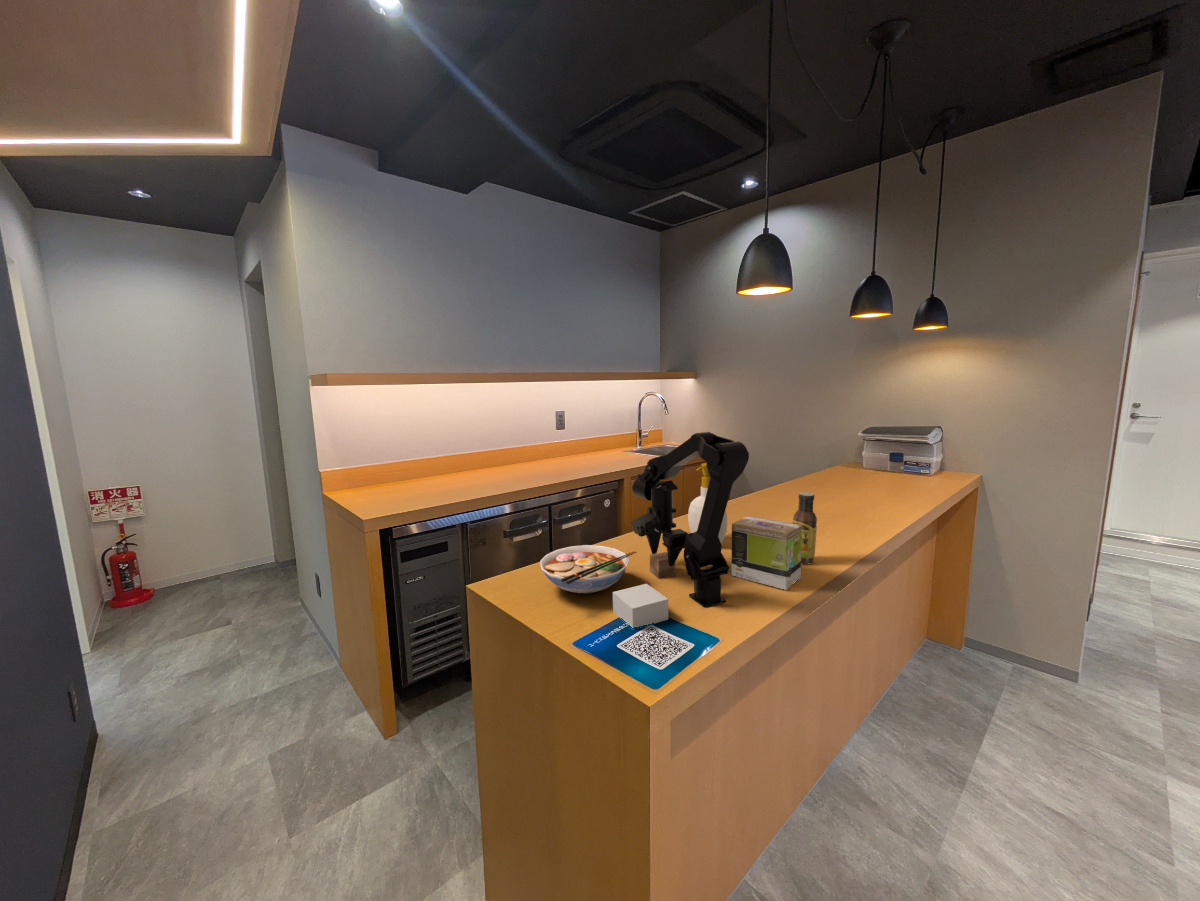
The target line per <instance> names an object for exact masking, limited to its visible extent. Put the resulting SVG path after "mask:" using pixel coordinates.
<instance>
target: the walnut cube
mask: <svg viewBox="0 0 1200 901" xmlns="http://www.w3.org/2000/svg"><path fill="white" fill-rule="evenodd" d="M649 573H651V574H652V575H653V576H655V577H656V578H657V579H659V580H660V579H664V578H668V577H673V576H676V562H675V563H674V565H673V566H671V567H670V566H669V562H668V554H667V551H663V552H657V553H656V554H652V553H651V554H649Z"/></svg>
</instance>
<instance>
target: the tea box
mask: <svg viewBox="0 0 1200 901" xmlns="http://www.w3.org/2000/svg"><path fill="white" fill-rule="evenodd" d="M801 543H802V525H799V524H793V522H792V523H791V522H786V521H780V520H775V519H769V518H761V517H756V516H751V515H749V516H748V515H747V516H745V517H743V518H741V519H739V520H737V521H734V522H732V524H731V566H730V567H731V576H733V577H737V578H739V579H743V580H747V581H750V582H754V583H759V584H762V585H766V586H768V587H769V586H770V587H772V586H773V588H776V589H780V590H783V589H784V590H783V591H788V588H789V587H790V586H791V585H792V584H793V583H794V582H795V581H797V580H798V579H799V578H800V579H801V574H802V570H801V569H802V564H801ZM800 579H799V580H800ZM799 580H798V581H799ZM798 581H797V582H798ZM792 586H793V585H792ZM792 586H791V587H792ZM791 587H790V588H791ZM790 588H789V589H790Z"/></svg>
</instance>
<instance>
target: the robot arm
mask: <svg viewBox="0 0 1200 901" xmlns="http://www.w3.org/2000/svg"><path fill="white" fill-rule="evenodd" d="M698 456H699V457H700V458H701V460H703V461H704V462H705V463H707V466H706V467H707V470H708V472H709V475H710V482H709V486H708V490H707V494H706V498H705V502H704V505H703V509H702V513H701V517H700V521H699V525H698V529H697V531H696V532H694V533H691V532H690V533H689V532H687V531H685V530H683V529H682V528H677V523H676V522H674V515H673V514H674V513H675V514H676V513H677V508H676V507H673V506H674V505H673V503H674V501H673V500H674V499H673V498H674V496H673V494H674V491H678V489H679V488H678V486H677V484H676V483H674V481H673V480H672V479H673V478H675V477H676V476H677V475H678V474H679V473H680V472H681V467H683V466H684V465H686V464H687V463H689V462H691V461H692V460H694V459H695V458H697V457H698ZM749 459H750V452H749V450H748V449H747V446H746V445H745V444H744V443H742V441H735V440H733V439H729V438H726V437H722V436H719V435H717V434H714V433H713V432H709V431H704V432H695V433H693V434H691V435H690V438H688V439H687V440H685V441H684V442H682V443H681V444H680V445H678V446H676V448H674V449H672V450H671V451H670V452H668V453H666V454H664V455H663V454H662V455H660V456H655V457H653V458H651V459H649V460H647V463H646V466H645V468H644V471H643V472H642V473H638V474H637V478H636V479H635V480H634V481H633V484H632V487H631V490H632V493H633V494H634V495H635V496H636V497H639V498H641V499H643V500H647V501H649V502H650V504H651V506H648V507H647V510H646V511H647V512H646V513H645V514H643V515H640V516H639V517H636V518H635V519H633V520H632V521H630V524H631V528H632V531H633V533H634V534H636V535H638V537H641V538H643V537H646V539H647V542H648V545H649V549H650V552H651V554H657V553H658V549H659V546H660V543H661V542H660V541H661V539H662V541H663V542H662V543H661V544H662V545H663V547H665V548H666V552H667V554H668V562H669V566H670V567H671V566H673V565H674V563H675V564H676V562H677V560H678V559H679V558H678V557H679V556H680V554H681V552H682V550H683V560H684V565H685V569H686V574H687V576H689V577H690V579H691V580H693V592H692V593H689V595H688V597H690V598H691V599H692V600H693V601H695V602H696V603H697V604H699V606H700V605H701V606H702V607H703V608H705V607H706V608H707V607H710V606H715V605H719V604H723V603H727V598H725V597H723V596H722V578H721V576H723V575H728V573H729V571H730V566H729V564H728V562H727V560H726V558H725V556H724V554H723V553H722V548H723V547H722V543H721V542H720V540H719V537H718V535H719V531H720V528H721V524H722V521H723V517H724V513H725V510H726V511H727V506H728V501H729V498H730V496H731V495H730V494H731V492H732V487H733V484H734V483H735V481H737V479H738V478H739V477H740V476H741V475H742V474H743V472H744V471H745V468H746V467H747V464H748V462H749ZM669 479H671V480H669ZM674 528H676V529H674ZM661 536H662V537H661Z"/></svg>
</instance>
